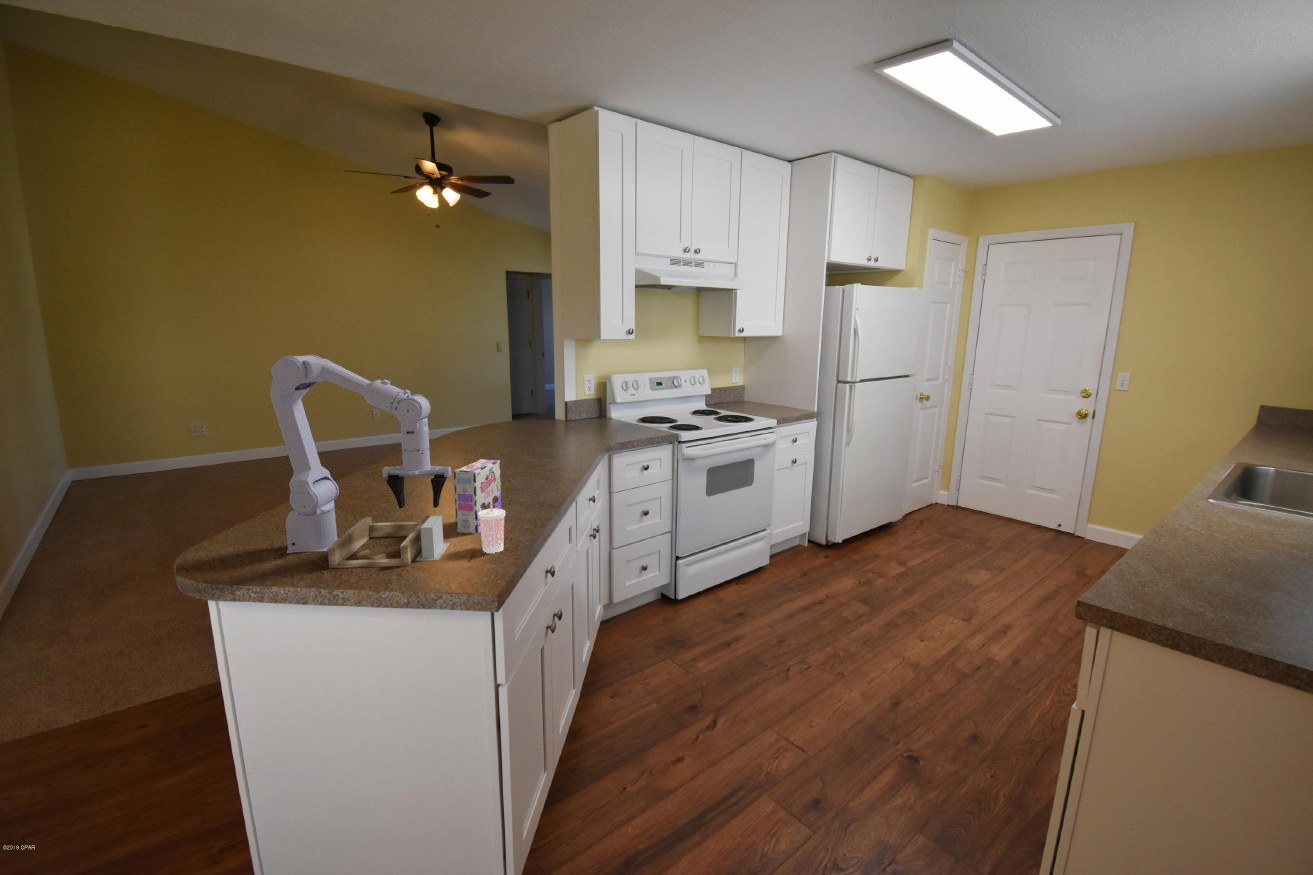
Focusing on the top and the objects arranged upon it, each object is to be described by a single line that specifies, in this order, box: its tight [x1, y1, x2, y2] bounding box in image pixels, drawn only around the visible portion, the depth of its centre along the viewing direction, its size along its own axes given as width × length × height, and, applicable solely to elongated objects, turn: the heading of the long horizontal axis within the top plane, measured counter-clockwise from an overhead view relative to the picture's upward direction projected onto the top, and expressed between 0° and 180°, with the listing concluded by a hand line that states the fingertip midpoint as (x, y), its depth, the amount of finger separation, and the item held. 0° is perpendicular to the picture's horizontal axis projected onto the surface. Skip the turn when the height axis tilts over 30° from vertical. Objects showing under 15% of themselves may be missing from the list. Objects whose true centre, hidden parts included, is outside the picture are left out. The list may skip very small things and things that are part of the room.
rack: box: [327, 515, 431, 569], centre depth 129 cm, size 16×20×5 cm
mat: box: [414, 542, 451, 562], centre depth 128 cm, size 5×10×1 cm, turn 7°
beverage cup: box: [478, 491, 506, 554], centre depth 130 cm, size 6×6×14 cm
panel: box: [421, 515, 444, 558], centre depth 128 cm, size 8×2×7 cm, turn 7°
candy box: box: [453, 458, 503, 535], centre depth 146 cm, size 14×6×16 cm, turn 168°
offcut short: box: [356, 549, 387, 560], centre depth 124 cm, size 6×2×1 cm, turn 65°
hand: (419, 506), depth 131 cm, fingers open, 7 cm apart
